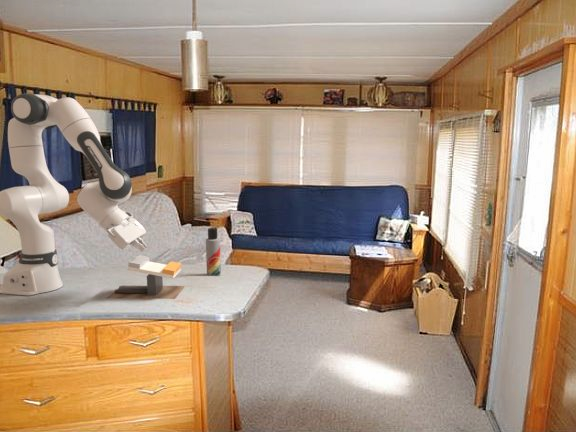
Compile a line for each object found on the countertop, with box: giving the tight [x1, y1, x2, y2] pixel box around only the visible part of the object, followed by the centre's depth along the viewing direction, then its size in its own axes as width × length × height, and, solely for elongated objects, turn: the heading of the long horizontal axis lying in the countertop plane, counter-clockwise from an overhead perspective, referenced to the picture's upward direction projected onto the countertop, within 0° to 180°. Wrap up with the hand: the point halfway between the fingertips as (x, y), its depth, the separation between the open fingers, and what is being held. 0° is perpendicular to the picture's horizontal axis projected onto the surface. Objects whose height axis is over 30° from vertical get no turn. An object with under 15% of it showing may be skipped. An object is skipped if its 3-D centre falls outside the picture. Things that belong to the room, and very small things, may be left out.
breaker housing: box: [146, 274, 164, 296], centre depth 175 cm, size 3×8×7 cm, turn 178°
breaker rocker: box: [127, 254, 183, 280], centre depth 174 cm, size 16×10×3 cm, turn 88°
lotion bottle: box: [205, 226, 222, 277], centre depth 199 cm, size 6×6×20 cm
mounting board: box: [106, 284, 186, 300], centre depth 175 cm, size 24×14×2 cm, turn 87°
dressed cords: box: [114, 285, 148, 294], centre depth 175 cm, size 12×5×1 cm, turn 87°
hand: (145, 249), depth 173 cm, fingers closed
